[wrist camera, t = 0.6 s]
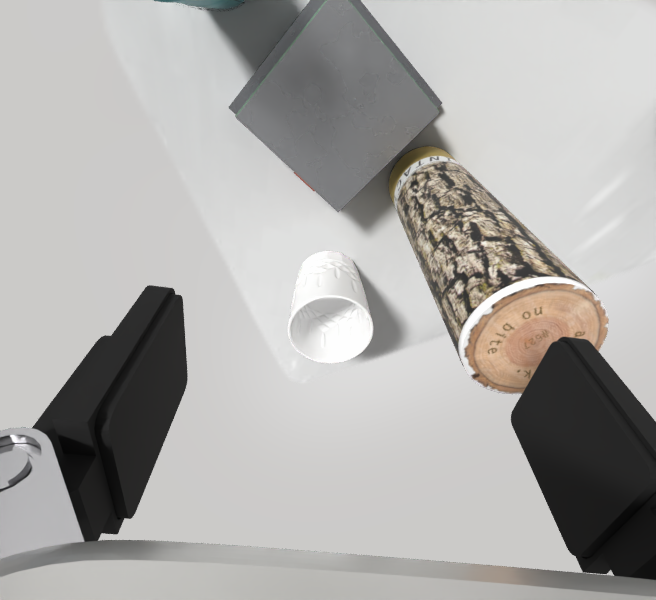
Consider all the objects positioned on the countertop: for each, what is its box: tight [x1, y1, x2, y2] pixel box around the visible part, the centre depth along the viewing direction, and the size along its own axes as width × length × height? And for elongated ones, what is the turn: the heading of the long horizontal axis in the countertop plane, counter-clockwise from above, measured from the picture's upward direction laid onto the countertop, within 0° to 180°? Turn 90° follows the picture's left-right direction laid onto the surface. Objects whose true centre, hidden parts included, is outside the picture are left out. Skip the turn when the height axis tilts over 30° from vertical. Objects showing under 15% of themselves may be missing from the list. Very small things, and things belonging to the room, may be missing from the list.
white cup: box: [288, 250, 373, 363], centre depth 42 cm, size 8×8×10 cm
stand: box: [229, 0, 442, 212], centre depth 34 cm, size 13×13×6 cm
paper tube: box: [389, 146, 608, 394], centre depth 30 cm, size 7×7×25 cm
